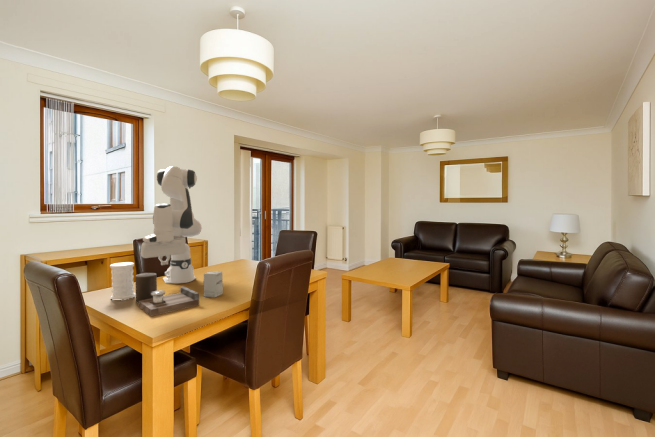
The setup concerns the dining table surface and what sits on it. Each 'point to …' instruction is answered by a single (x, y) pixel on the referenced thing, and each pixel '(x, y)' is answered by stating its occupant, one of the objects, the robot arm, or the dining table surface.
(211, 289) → the supplement box
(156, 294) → the frosted bulb shape
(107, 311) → the dining table surface
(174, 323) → the dining table surface
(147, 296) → the pillar candle
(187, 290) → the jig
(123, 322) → the dining table surface
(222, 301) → the dining table surface
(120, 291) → the decorative container
